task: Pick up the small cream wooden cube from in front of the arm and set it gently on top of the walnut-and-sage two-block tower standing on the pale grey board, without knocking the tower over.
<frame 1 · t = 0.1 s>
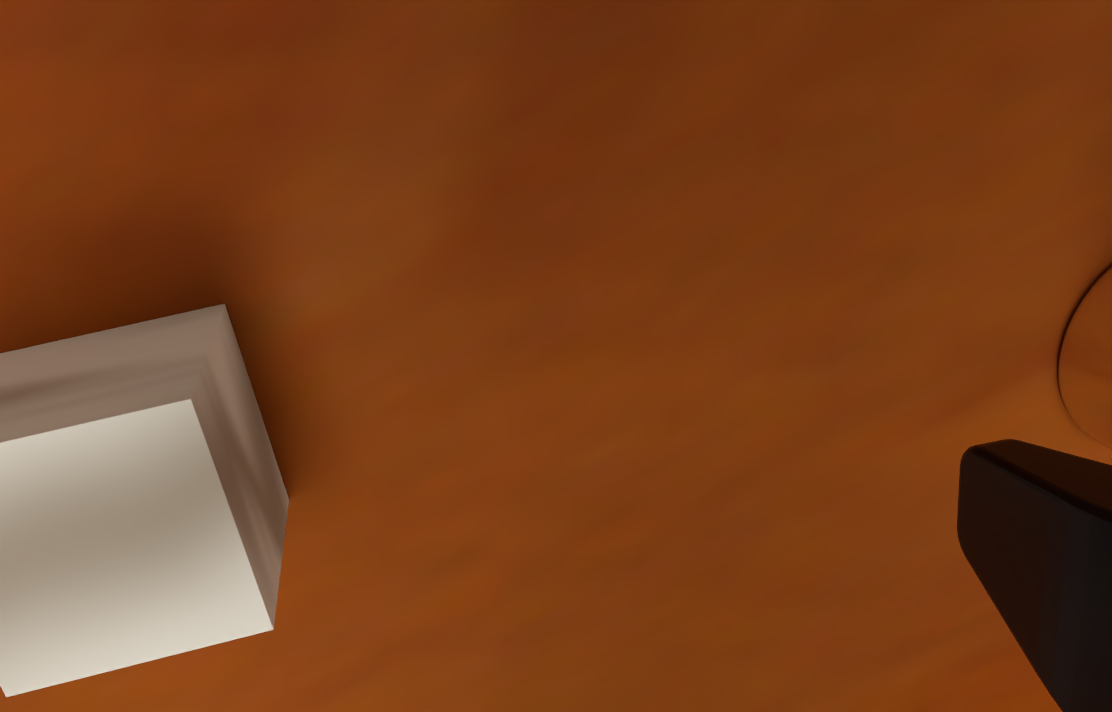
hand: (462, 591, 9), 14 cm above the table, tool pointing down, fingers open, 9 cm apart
cream block: (146, 430, 23), on the table
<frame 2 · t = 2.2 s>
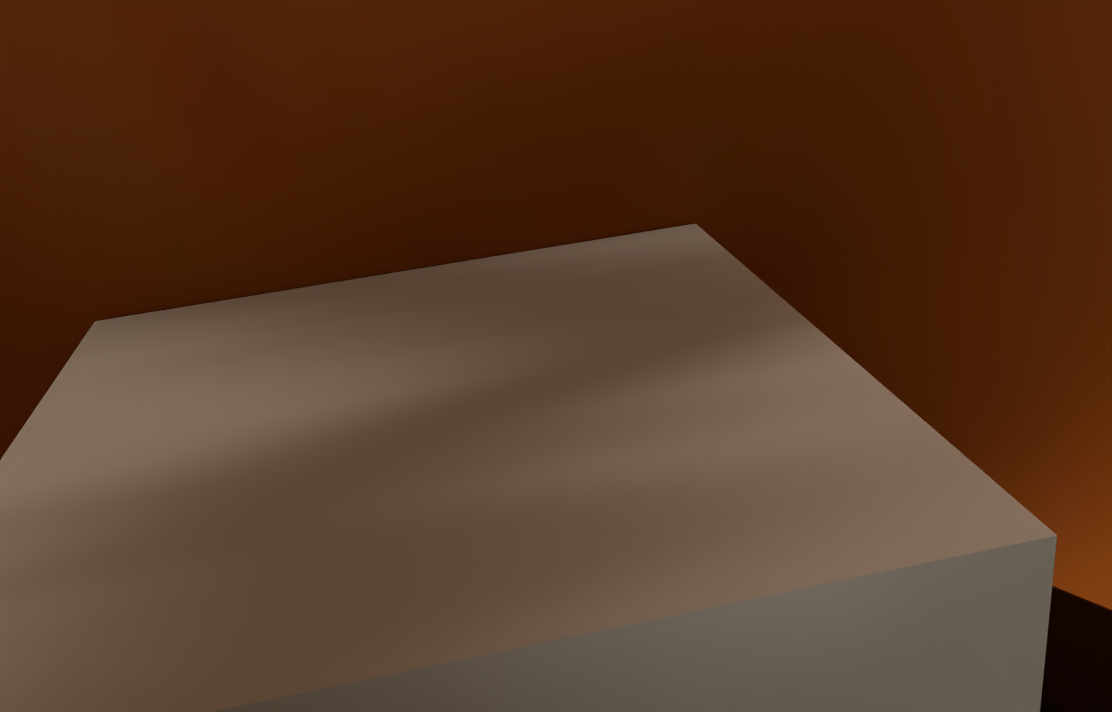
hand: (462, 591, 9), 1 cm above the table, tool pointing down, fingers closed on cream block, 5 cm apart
cream block: (451, 525, 9), on the table, touching gripper
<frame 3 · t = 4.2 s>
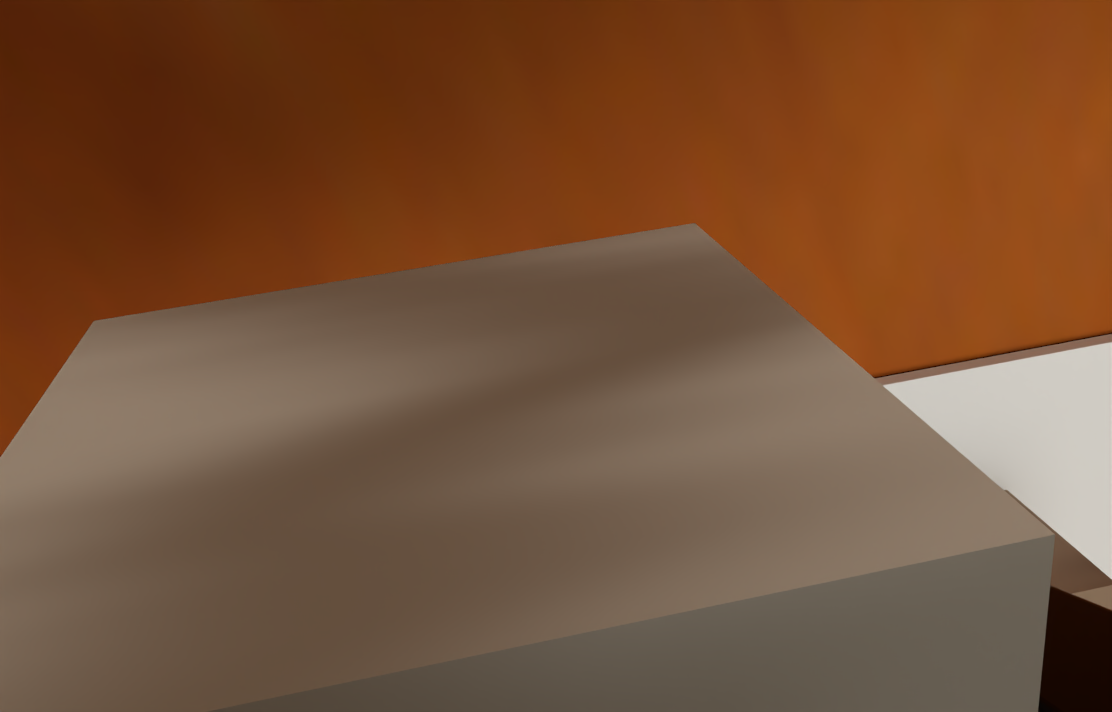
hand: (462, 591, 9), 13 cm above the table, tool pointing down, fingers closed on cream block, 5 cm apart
cream block: (450, 525, 9), point 12 cm above the table, touching gripper
board: (828, 662, 27), on the table
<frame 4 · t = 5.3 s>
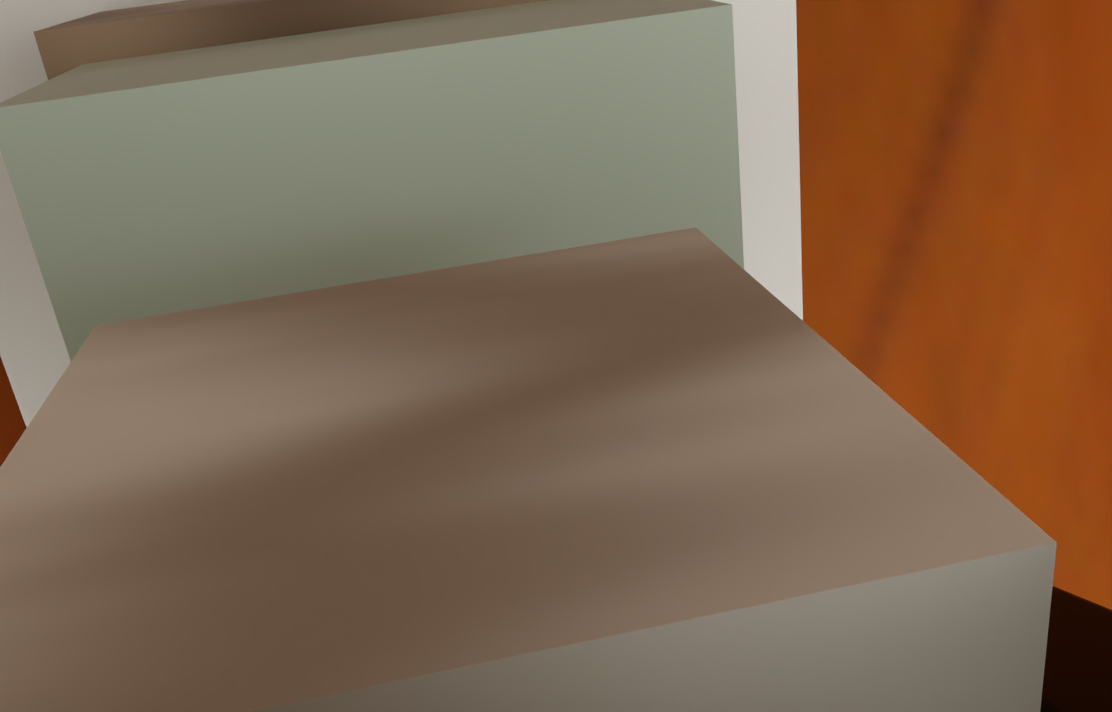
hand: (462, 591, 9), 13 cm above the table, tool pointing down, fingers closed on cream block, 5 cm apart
cream block: (452, 528, 9), point 12 cm above the table, touching gripper
walnut block: (412, 251, 18), on the board, touching sage block
board: (406, 217, 20), on the table
sage block: (418, 287, 16), point 4 cm above the table, touching walnut block
when the fingers open (10 cm above the table, at t = 6.1 s): cream block stays where it is, resting on sage block.
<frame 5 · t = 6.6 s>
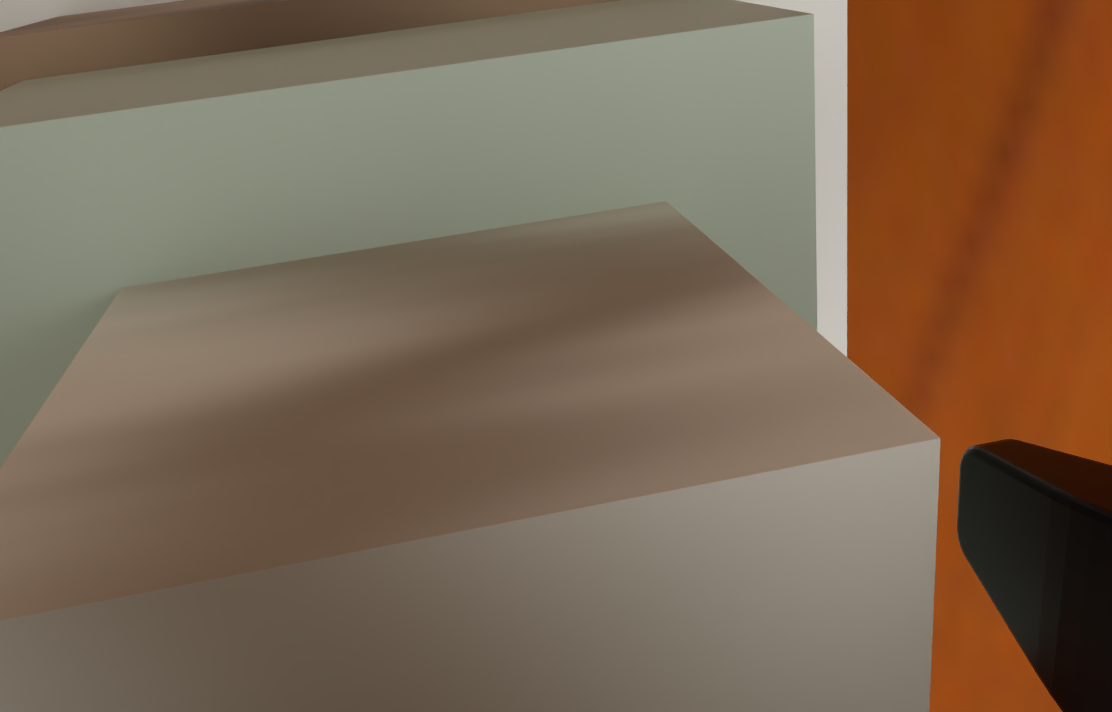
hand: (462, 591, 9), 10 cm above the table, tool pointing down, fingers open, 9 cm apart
cream block: (444, 479, 10), point 8 cm above the table, touching sage block
walnut block: (414, 291, 16), on the board, touching sage block
board: (407, 247, 18), on the table
sage block: (421, 337, 14), point 4 cm above the table, touching cream block, walnut block
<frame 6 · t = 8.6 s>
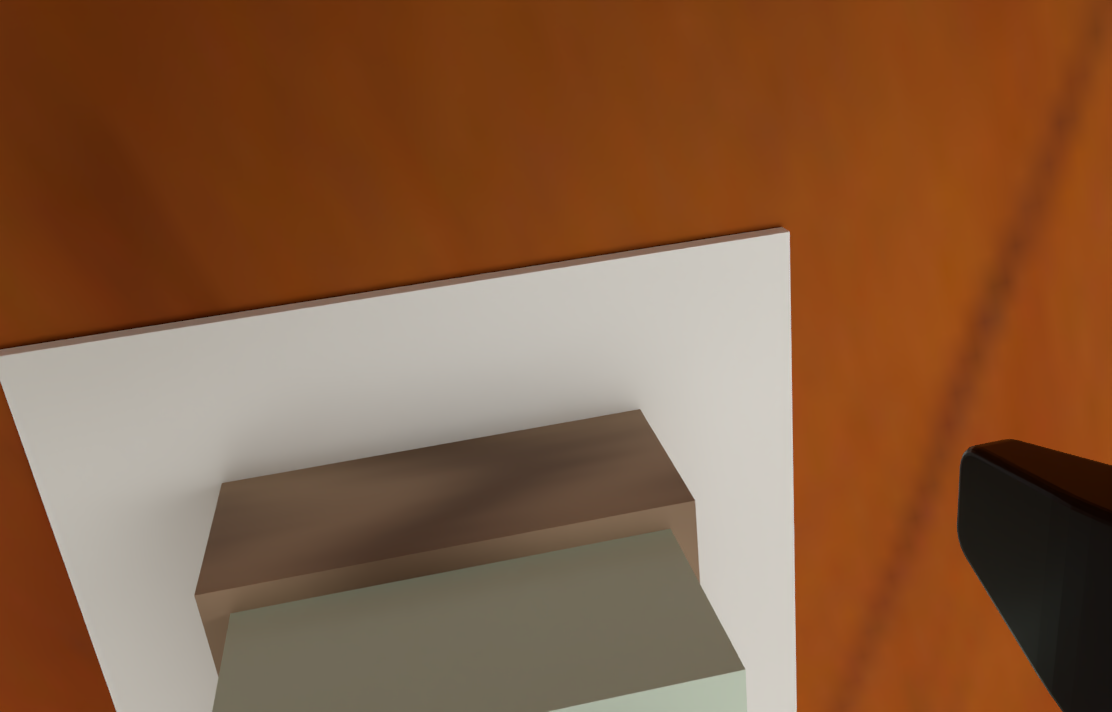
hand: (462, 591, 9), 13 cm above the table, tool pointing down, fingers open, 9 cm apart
walnut block: (474, 672, 22), on the board, touching sage block
board: (463, 606, 24), on the table
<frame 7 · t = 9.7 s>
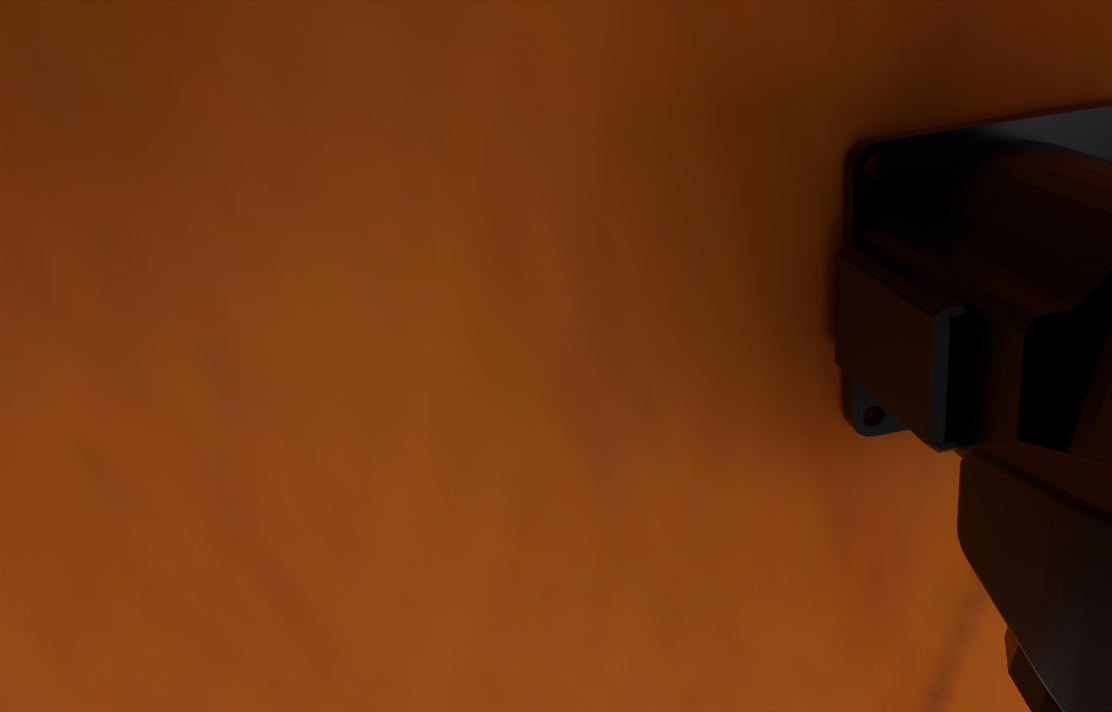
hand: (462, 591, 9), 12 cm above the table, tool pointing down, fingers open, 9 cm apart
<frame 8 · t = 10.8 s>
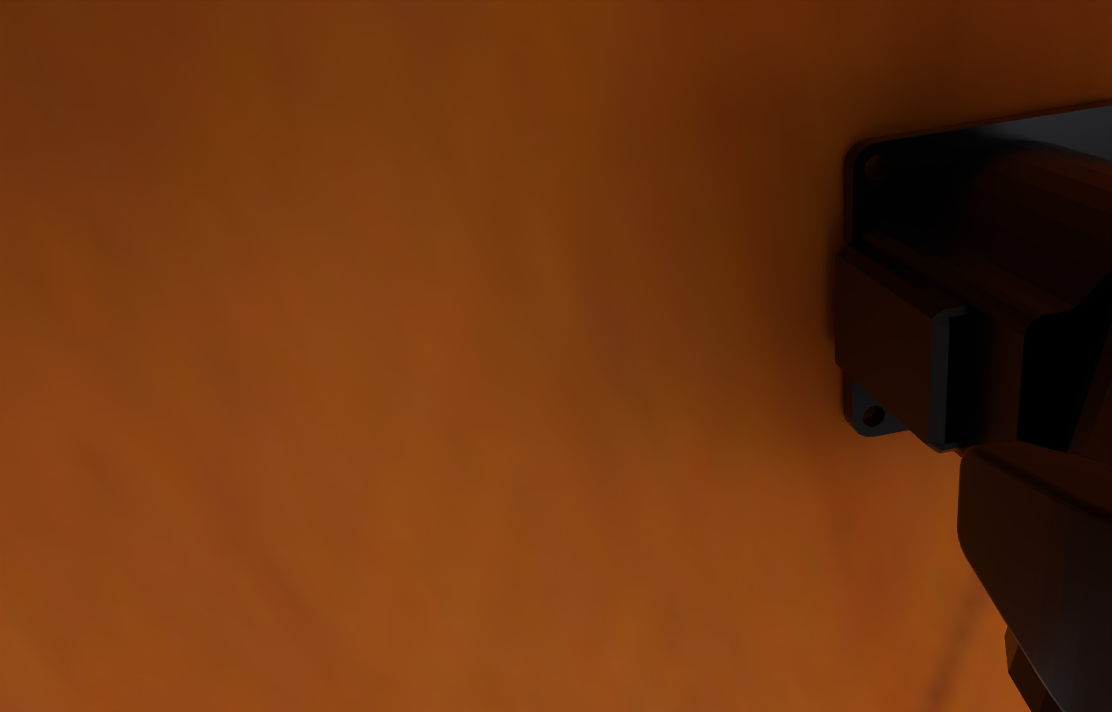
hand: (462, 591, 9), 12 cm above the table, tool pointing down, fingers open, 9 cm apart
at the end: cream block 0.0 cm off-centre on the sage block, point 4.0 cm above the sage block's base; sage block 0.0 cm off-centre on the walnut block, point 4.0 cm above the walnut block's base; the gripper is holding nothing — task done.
